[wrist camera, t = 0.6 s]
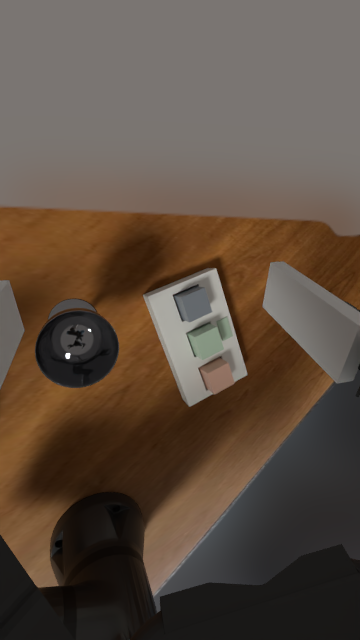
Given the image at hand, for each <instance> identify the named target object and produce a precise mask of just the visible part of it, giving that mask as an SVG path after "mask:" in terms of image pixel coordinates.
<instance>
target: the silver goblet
mask: <svg viewBox="0 0 360 640" xmlns="http://www.w3.org/2000/svg"><path fill="white" fill-rule="evenodd" d="M118 353H119V342H118V338H117V335H116V333H115V330H114V329H113V327H112V326H111V324H110V323H109V322H108V321H107V320H106V319H105V318H104V317H103V316H101V315H100V314H98V313H97V311H96V310H95V309H94V307H93V306H92V305H90V304H89V303H88V302H86V301H84V300H80V299H68V300H64V301H62V302H60V303H58V304H57V305H56V306H55V307H54V308H53V309H52V310H51V312H50V314H49V317H48V321H47V322H46V323H45V324H44V326H43V327H42V329H41V331H40V332H39V334H38V338H37V341H36V346H35V356H36V361H37V364H38V366H39V368H40V370H41V371H42V373H43V374H44V375H45V376H46V377H47V378H48V379H50V380H51V381H52V382H54V383H56V384H58V385H61V386H64V387H70V388H80V387H86V386H89V385H92V384H94V383H97V382H99V381H100V380H101V379H103V378H104V377H105V376H106V375H107V374H108V373H109V372H110V371H111V370H112V368H113V367H114V365H115V363H116V361H117V357H118Z"/></svg>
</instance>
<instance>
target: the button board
mask: <svg viewBox="0 0 360 640" xmlns="http://www.w3.org/2000/svg"><path fill="white" fill-rule="evenodd" d="M195 286H199V287H205V290H206V293H207V296H208V300H209V303H210V306H211V309H212V312H211V313H209V314H207V315H205V316H203V317H201V318H198V319H196V320H194V321H192V322H187V321H185V320H183V319H182V318H181V317H180V315H179V312H178V309H177V306H176V303H175V301H174V298H173V294H176V293H178V292H180V291H183V290H185V289H187V288H190V287H195ZM143 297H144V300H145V302H146V305H147V307H148V310H149V313H150V315H151V318H152V320H153V323H154V326H155V328H156V331H157V333H158V336H159V339H160V341H161V344H162V346H163V349H164V352H165V354H166V357H167V359H168V362H169V365H170V367H171V370H172V372H173V375H174V378H175V380H176V383H177V385H178V388H179V391H180V393H181V396H182V398H183V400H184V401H185V402H186V404H187V405H188V406H189V407H190V406H192V405H194V404H196V403H198V402H200V401H201V400H203V399H205V398H207V397H209V396H210V395H212V394H213V393H212V392H211V391H210V390H208V389H207V388H206V387H205V384H204V382H203V380H202V377H201V374H200V372H199V369H198V368H199V367H201V366H202V365H204V364H206V363H208V362H210V361H212V360H214V359H216V358H218V357H220V358H221V359H223V360H225V361H226V362H228V363H229V366H230V370H231V373H232V376H233V379H234V382H236V381H237V380H239V379H241V378H243V377H245V376H247V375H248V374H247V371H246V367H245V364H244V361H243V357H242V354H241V350H240V347H239V344H238V340H237V337H236V333H235V330H234V327H233V323H232V320H231V317H230V313H229V310H228V306H227V303H226V300H225V296H224V293H223V290H222V286H221V283H220V279H219V276H218V273H217V269H216V268H207V269H204V270H202V271H199V272H197V273H195V274H192V275H190V276H187V277H185V278H182V279H180V280H178V281H175V282H173V283H170V284H168V285H165V286H163V287H161V288H158V289H156V290H153V291H151V292H148V293H146V294H144V295H143ZM207 323H209V324H212V325H214V326H217V328H218V331H219V335H220V338H221V341H222V344H223V347H224V349H223V350H222V351H220V352H218V353H216V354H214V355H212V356H210V357H208V358H206V359H204V360H202V359H200V358H199V357H197V356H196V355H194V353H193V350H192V349H191V346H190V343H189V340H188V338H187V335H186V332H189V331H191V330H193V329H195V328H197V327H199V326H201V325H203V324H207Z"/></svg>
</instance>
